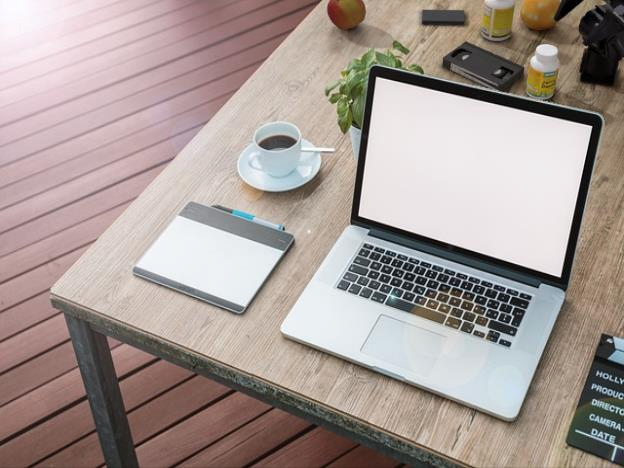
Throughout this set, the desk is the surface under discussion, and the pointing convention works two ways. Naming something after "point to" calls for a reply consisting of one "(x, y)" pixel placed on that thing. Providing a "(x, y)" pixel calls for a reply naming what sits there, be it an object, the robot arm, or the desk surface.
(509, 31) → the pill bottle
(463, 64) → the vhs tape
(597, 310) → the desk surface
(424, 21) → the scrub mat
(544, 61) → the supplement bottle
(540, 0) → the fruit
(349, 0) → the apple
